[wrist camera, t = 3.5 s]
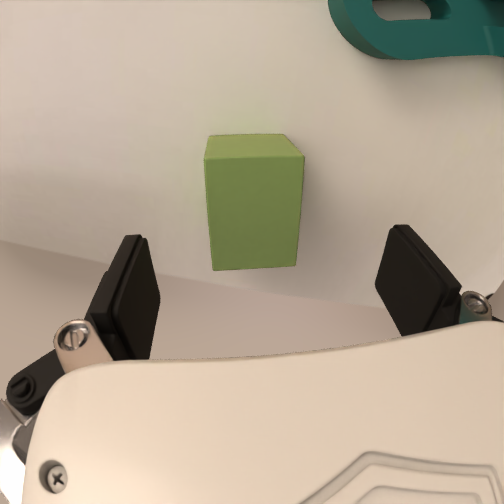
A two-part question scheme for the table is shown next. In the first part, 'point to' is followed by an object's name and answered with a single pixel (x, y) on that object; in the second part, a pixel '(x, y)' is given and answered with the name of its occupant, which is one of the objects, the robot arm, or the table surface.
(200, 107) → the table surface
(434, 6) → the bracket
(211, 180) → the lime green cube
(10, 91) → the table surface
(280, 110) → the table surface
